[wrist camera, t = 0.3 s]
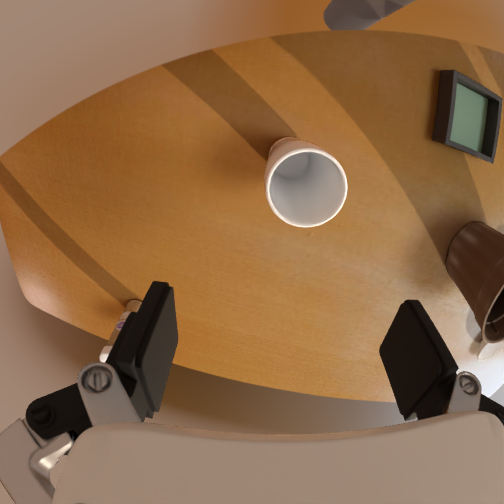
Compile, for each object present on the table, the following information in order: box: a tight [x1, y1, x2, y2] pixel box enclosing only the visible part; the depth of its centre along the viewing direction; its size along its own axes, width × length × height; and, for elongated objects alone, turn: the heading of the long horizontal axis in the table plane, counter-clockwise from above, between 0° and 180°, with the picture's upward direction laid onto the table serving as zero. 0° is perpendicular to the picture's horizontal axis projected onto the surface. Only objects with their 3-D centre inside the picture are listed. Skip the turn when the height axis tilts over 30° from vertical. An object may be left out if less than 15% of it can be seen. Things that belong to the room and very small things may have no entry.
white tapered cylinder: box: [264, 137, 347, 227], centre depth 28 cm, size 7×7×15 cm
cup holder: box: [432, 70, 502, 164], centre depth 28 cm, size 11×11×4 cm
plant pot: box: [446, 222, 504, 344], centre depth 33 cm, size 16×16×16 cm
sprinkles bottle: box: [100, 300, 142, 363], centre depth 42 cm, size 5×5×14 cm
